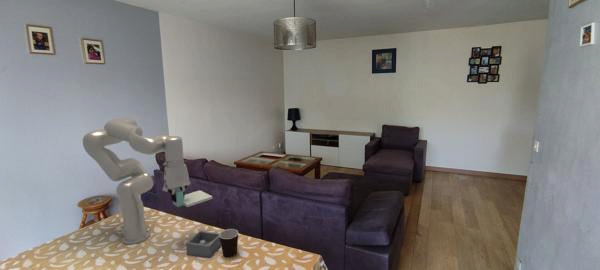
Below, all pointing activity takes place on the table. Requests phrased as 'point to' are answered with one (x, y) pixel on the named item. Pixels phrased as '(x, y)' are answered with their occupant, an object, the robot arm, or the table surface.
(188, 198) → the board with teal handle
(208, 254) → the tub
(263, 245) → the table surface
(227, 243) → the coffee mug
